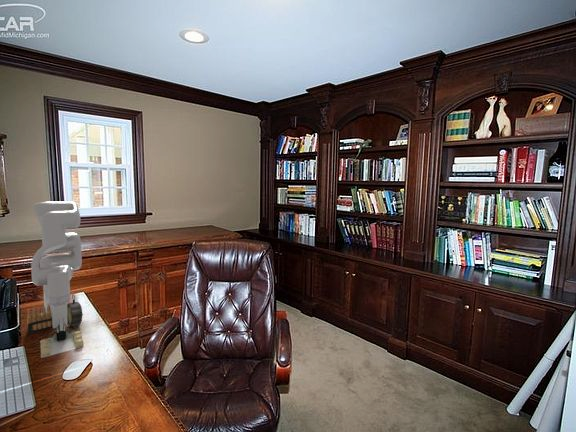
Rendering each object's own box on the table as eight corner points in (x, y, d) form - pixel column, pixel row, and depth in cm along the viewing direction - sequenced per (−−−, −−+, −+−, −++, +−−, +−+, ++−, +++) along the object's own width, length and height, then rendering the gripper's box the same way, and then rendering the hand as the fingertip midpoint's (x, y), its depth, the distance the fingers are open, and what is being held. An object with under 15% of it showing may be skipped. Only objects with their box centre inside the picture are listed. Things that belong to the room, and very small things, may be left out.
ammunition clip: (27, 334, 135) (26, 309, 134) (27, 333, 136) (25, 307, 135) (57, 327, 143) (56, 303, 141) (56, 325, 144) (55, 302, 143)
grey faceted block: (53, 337, 132) (53, 332, 132) (67, 334, 135) (67, 329, 135) (54, 341, 129) (53, 336, 129) (68, 338, 132) (68, 332, 132)
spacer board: (40, 341, 130) (40, 334, 130) (79, 331, 139) (79, 325, 139) (41, 359, 117) (40, 352, 116) (84, 347, 126) (83, 340, 125)
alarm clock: (65, 324, 145) (63, 292, 144) (78, 321, 149) (77, 290, 148) (71, 332, 138) (69, 298, 136) (84, 328, 142) (83, 295, 140)
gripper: (47, 295, 131) (49, 335, 132) (48, 306, 119) (51, 350, 121) (68, 292, 135) (70, 330, 137) (71, 302, 124) (73, 344, 126)
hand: (61, 339), depth 129 cm, fingers closed
